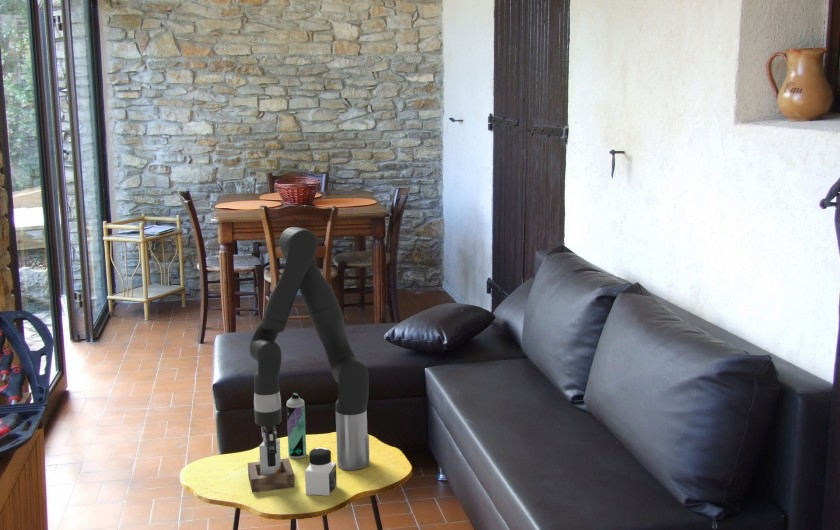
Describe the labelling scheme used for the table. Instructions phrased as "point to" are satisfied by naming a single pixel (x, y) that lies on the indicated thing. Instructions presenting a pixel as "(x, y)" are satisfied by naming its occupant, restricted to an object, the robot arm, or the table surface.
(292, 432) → the spray can
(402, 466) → the table surface
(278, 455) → the skincare box
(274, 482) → the walnut well block
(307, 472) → the medicine bottle
